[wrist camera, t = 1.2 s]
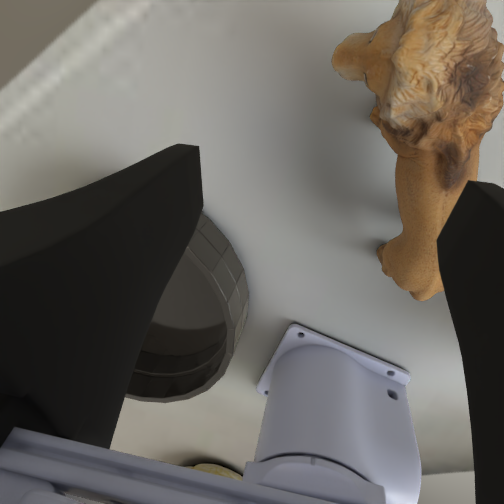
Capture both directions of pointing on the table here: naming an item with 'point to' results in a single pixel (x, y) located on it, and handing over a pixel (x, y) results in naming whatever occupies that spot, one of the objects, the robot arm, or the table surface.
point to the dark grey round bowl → (193, 322)
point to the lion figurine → (428, 117)
